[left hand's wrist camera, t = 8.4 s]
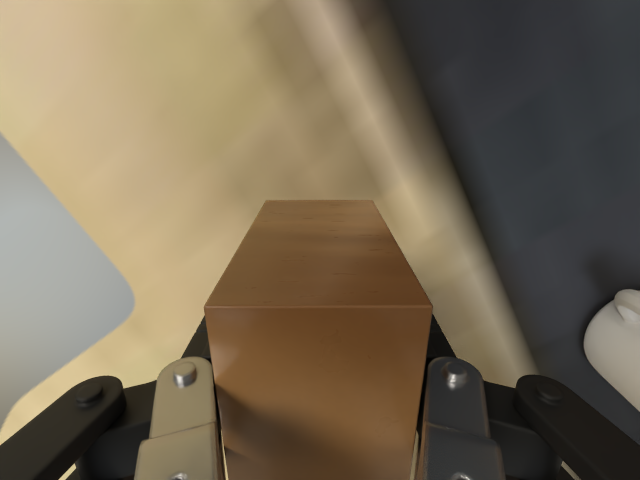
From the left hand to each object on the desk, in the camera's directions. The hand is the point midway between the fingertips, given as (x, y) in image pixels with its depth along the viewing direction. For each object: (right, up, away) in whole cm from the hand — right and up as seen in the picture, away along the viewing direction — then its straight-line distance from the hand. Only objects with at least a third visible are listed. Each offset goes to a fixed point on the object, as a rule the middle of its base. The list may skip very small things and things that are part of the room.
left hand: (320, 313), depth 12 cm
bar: (0, -7, +7) cm, 10 cm away
